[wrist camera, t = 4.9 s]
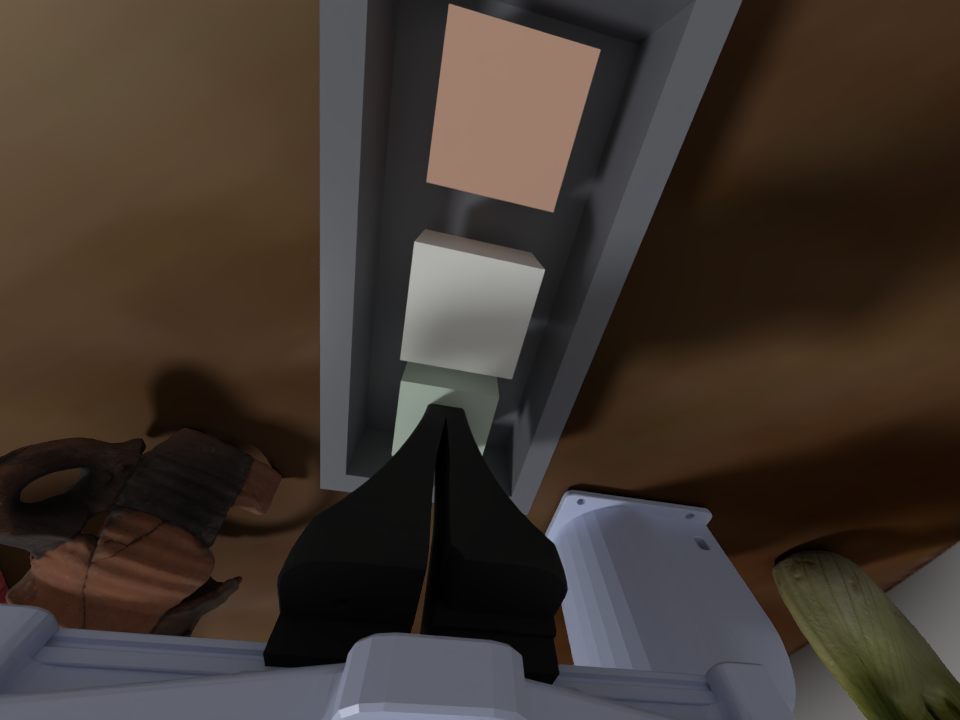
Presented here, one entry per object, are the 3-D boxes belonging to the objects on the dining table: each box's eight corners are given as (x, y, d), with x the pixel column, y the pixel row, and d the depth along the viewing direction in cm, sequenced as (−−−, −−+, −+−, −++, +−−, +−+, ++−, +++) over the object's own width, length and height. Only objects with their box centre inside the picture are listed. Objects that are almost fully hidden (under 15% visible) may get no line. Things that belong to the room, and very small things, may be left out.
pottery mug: (332, 494, 21) (238, 667, 16) (251, 476, 26) (161, 605, 21) (115, 373, 13) (-182, 635, 9) (58, 379, 18) (-153, 549, 13)
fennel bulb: (744, 570, 25) (946, 861, 14) (798, 528, 23) (1082, 834, 12) (802, 586, 26) (1029, 867, 15) (858, 549, 24) (1164, 843, 13)
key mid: (531, 252, 12) (545, 269, 9) (505, 347, 13) (511, 379, 11) (425, 228, 11) (414, 241, 9) (411, 329, 13) (399, 360, 11)
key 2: (573, 76, 10) (600, 49, 8) (538, 206, 12) (553, 212, 10) (453, 40, 10) (448, 3, 8) (434, 180, 11) (426, 181, 9)
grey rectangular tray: (667, 23, 11) (763, -51, 7) (517, 451, 19) (527, 514, 15) (374, -71, 10) (319, -213, 6) (350, 426, 18) (320, 488, 14)
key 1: (495, 365, 15) (499, 397, 13) (477, 430, 16) (478, 467, 14) (411, 350, 14) (401, 380, 12) (402, 418, 16) (391, 455, 14)
